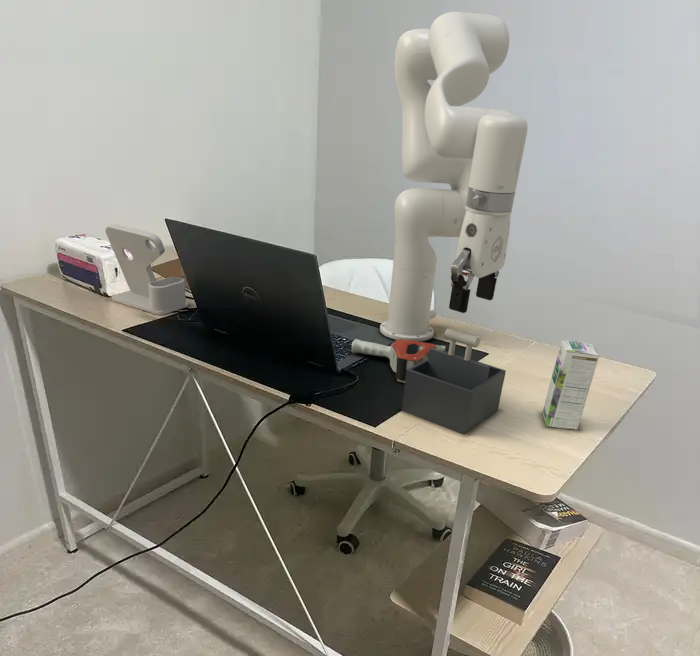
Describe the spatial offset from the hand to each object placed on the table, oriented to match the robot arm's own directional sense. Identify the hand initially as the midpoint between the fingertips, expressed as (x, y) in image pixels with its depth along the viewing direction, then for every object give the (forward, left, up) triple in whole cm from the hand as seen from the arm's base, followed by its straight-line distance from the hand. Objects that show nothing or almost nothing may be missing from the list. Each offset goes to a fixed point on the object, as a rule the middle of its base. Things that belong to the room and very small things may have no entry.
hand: (471, 304), depth 116 cm
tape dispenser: (-6, -16, -19) cm, 26 cm away
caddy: (+5, +2, -19) cm, 19 cm away
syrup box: (-6, +19, -19) cm, 27 cm away
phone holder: (+6, -81, -19) cm, 84 cm away
